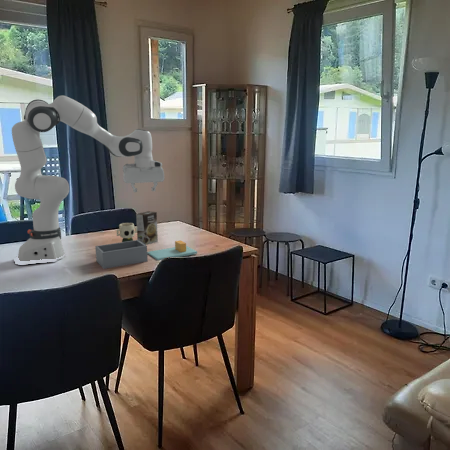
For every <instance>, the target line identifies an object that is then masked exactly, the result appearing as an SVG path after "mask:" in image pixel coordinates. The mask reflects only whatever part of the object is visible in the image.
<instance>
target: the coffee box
mask: <svg viewBox="0 0 450 450" xmlns="http://www.w3.org/2000/svg"><path fill="white" fill-rule="evenodd" d="M135 216H136V217H135V218H136V227H137V234H136V235H137V238H136V240H139V241H140V242H142V243H143V244H145V245H146V246H149V245H151V244H155V243H158V242H159V241H158V239H159V238H158V237H159V235H158V213H157V212H156V211H149V210H148V211H143V212H138V213H136V214H135Z"/></svg>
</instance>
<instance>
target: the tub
mask: <svg viewBox="0 0 450 450" xmlns="http://www.w3.org/2000/svg"><path fill="white" fill-rule="evenodd" d="M94 247H95V258H96V263H97V264H98V265H99V266H100V267H101V268H102V270H106V269H110V268H117V267H123V266H128V265H135V264H139V263H146V262H148V257H149V256H148V254H147V252H148V245H145V244H143V243H142V242H140V241H139V240H137V239H136V240H135V239H133V241H127V242H122V241H121V242H115V243H108V244H100V245H95V246H94Z"/></svg>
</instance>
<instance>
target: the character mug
mask: <svg viewBox="0 0 450 450" xmlns="http://www.w3.org/2000/svg"><path fill="white" fill-rule="evenodd" d="M118 227H119V229H116V236H117V237H119V236H120V238H122V239H121V242H127V241H134V239H133V237H135V234H136V233H137V225H136V226H135V224H134V223H133V222H122V223H120V224H119V225H118Z"/></svg>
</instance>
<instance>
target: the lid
mask: <svg viewBox="0 0 450 450" xmlns="http://www.w3.org/2000/svg"><path fill="white" fill-rule="evenodd" d="M196 254H198V251H197V250H195V249H193V248H191V247H189V246H188V245H187V243H186V242H184V241H182V240H175V241H174V247H169V248H164V249H163V248H161V249H157V250H155V249H154V250H151V251H147V255H149V256H150V257H152V258H154V259H155V260H157V261H161V260H165V259H164V258H167V257H173V258H174V257H177V258H181V257H187V256H192V255H196Z"/></svg>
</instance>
